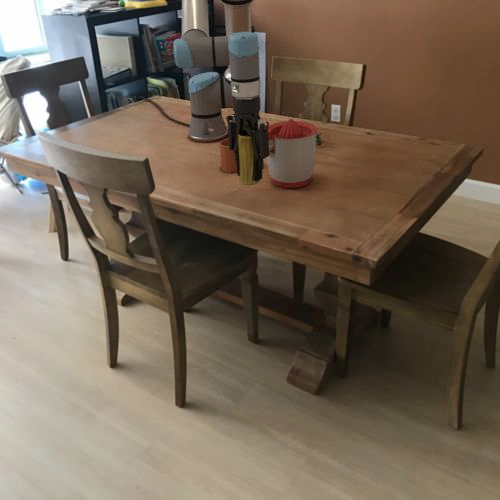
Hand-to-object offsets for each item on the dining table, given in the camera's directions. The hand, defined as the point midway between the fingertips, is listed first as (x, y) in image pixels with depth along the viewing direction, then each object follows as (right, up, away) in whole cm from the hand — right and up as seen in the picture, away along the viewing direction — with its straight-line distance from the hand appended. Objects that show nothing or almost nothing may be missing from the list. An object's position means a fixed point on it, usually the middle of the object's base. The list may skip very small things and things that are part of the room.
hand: (249, 176), depth 148 cm
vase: (0, -1, +1) cm, 2 cm away
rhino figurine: (+22, +18, +42) cm, 50 cm away
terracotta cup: (-6, +7, +25) cm, 27 cm away
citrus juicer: (+12, 0, +14) cm, 19 cm away
